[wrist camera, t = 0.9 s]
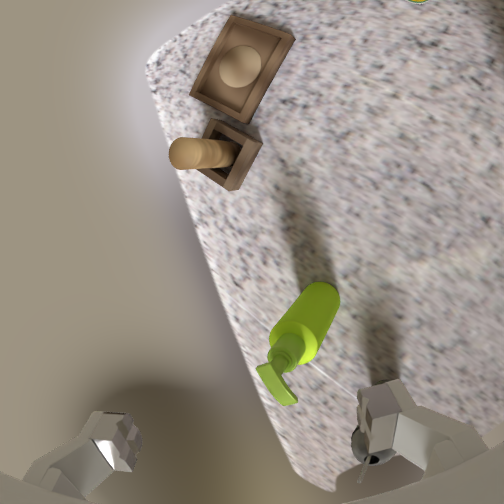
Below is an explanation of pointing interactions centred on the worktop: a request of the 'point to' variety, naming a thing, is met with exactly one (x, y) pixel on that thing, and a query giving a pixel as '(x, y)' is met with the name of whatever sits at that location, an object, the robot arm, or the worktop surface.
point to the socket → (243, 160)
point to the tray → (241, 67)
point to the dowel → (202, 153)
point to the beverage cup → (362, 453)
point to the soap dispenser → (298, 337)
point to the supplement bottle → (417, 1)
